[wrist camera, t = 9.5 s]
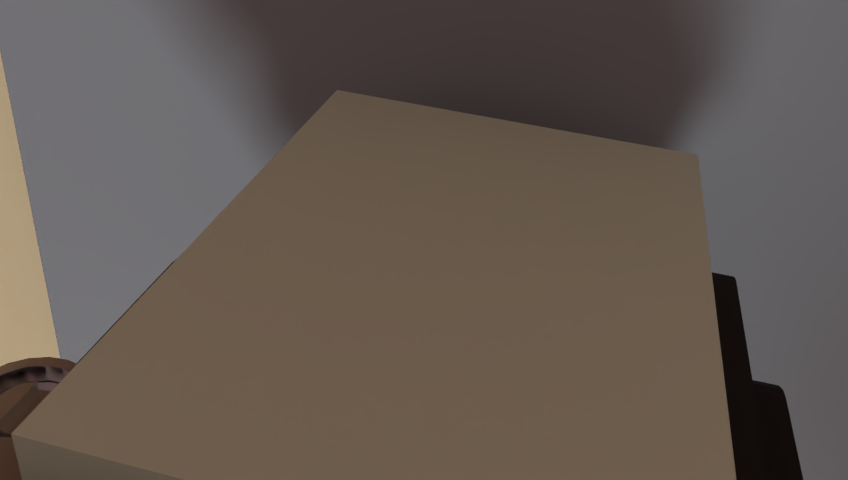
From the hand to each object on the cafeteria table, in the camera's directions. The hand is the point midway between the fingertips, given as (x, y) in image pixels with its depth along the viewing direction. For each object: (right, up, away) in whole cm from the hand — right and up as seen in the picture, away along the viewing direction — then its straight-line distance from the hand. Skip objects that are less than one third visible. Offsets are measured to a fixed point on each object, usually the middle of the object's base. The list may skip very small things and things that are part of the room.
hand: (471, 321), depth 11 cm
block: (0, +1, +1) cm, 1 cm away
